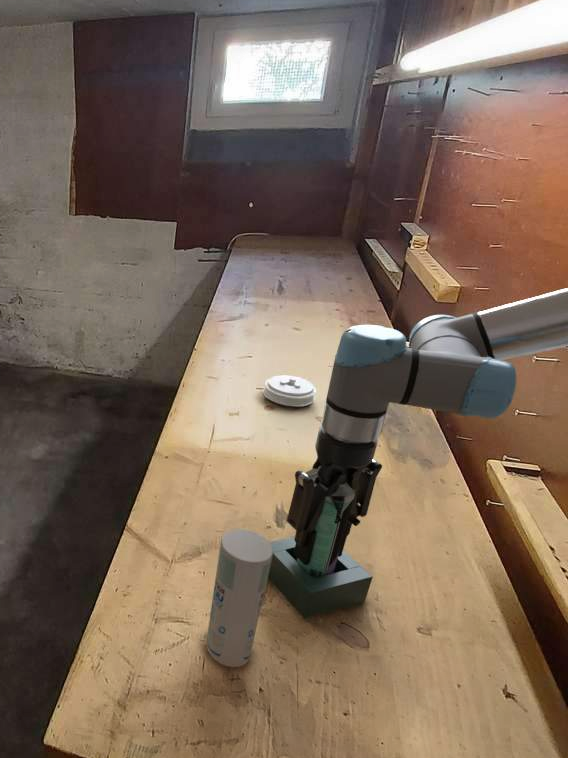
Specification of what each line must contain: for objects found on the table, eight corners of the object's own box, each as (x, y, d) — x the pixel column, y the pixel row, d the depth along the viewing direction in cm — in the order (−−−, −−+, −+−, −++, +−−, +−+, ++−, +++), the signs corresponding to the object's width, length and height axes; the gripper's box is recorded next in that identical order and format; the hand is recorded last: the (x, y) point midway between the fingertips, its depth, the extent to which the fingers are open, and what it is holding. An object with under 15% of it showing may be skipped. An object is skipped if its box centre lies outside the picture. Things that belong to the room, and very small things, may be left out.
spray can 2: (339, 582, 90) (368, 480, 81) (308, 587, 89) (333, 485, 81) (318, 558, 95) (343, 459, 86) (288, 563, 94) (310, 464, 85)
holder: (364, 602, 90) (373, 576, 87) (304, 619, 87) (310, 593, 85) (314, 553, 100) (320, 529, 97) (258, 567, 97) (263, 543, 95)
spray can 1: (255, 671, 80) (278, 565, 71) (207, 665, 81) (224, 560, 72) (247, 633, 85) (267, 530, 76) (203, 628, 86) (218, 526, 78)
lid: (304, 388, 157) (307, 372, 155) (320, 409, 146) (324, 392, 143) (257, 387, 158) (260, 371, 156) (270, 409, 147) (273, 392, 145)
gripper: (380, 409, 86) (347, 528, 96) (276, 429, 82) (253, 551, 92) (423, 434, 79) (382, 558, 89) (312, 456, 75) (283, 584, 85)
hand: (317, 554), depth 91 cm, fingers closed on spray can 2, 5 cm apart
